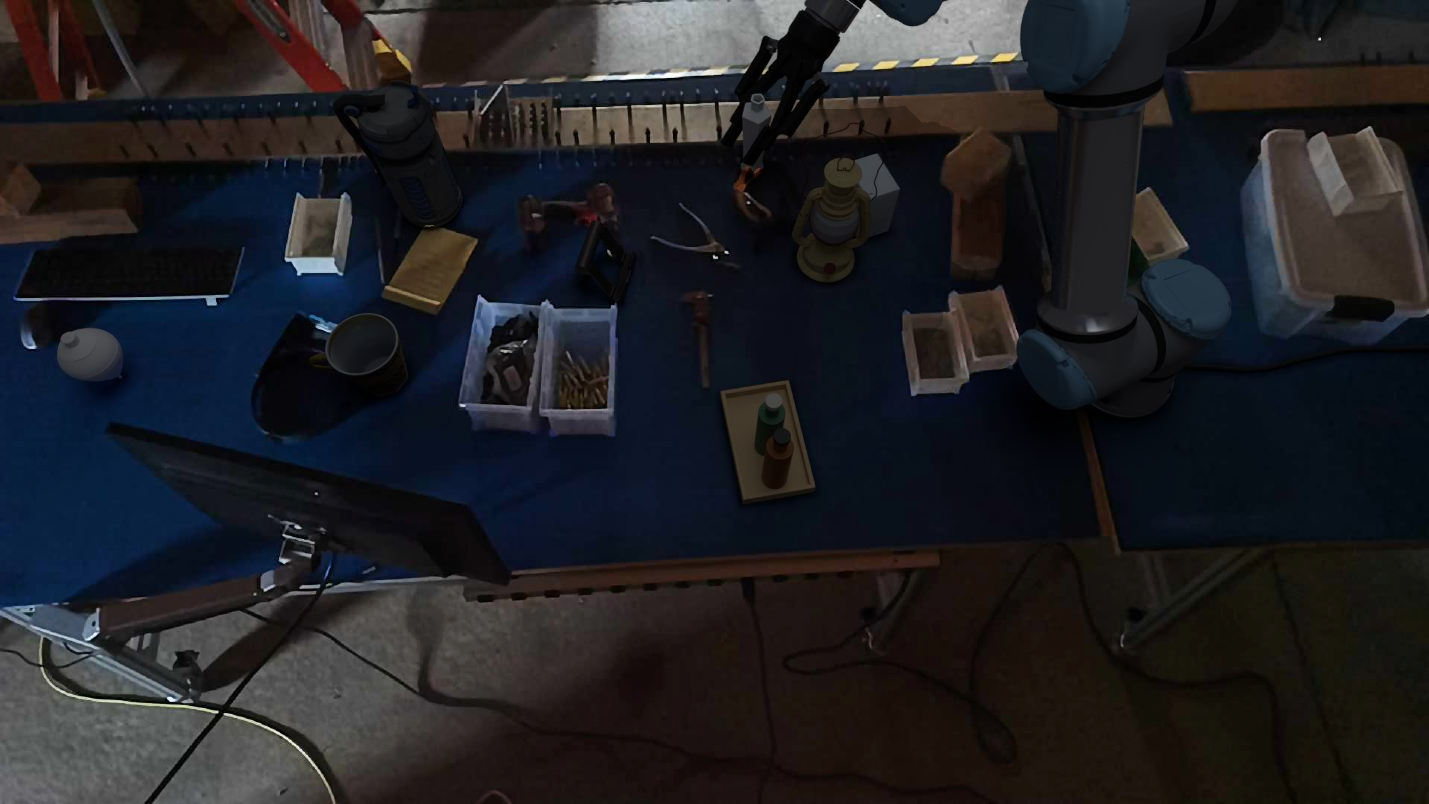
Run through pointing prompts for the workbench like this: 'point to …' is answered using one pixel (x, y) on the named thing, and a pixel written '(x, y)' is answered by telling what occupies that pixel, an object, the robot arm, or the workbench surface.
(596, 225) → the tablet stand
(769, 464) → the amber bottle
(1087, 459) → the workbench surface
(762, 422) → the green bottle
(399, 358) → the ceramic cup
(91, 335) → the spinning top
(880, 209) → the small box
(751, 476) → the tray
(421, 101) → the beverage bottle
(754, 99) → the perfume bottle
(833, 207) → the lantern
